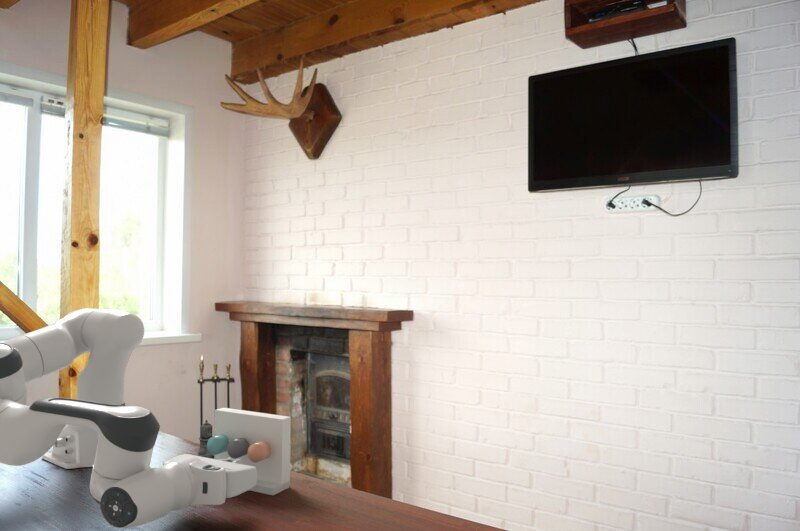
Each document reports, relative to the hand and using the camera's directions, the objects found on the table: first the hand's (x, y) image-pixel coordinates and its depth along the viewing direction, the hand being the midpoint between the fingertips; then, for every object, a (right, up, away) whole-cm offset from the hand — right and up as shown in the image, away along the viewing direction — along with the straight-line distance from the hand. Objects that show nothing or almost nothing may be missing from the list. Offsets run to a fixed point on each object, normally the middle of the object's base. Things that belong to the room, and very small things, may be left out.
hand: (236, 462), depth 132 cm
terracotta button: (+3, -2, +7) cm, 8 cm away
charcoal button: (-2, -2, +10) cm, 10 cm away
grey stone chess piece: (-14, -9, +24) cm, 30 cm away
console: (-1, -9, +13) cm, 16 cm away
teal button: (-8, -2, +13) cm, 15 cm away
